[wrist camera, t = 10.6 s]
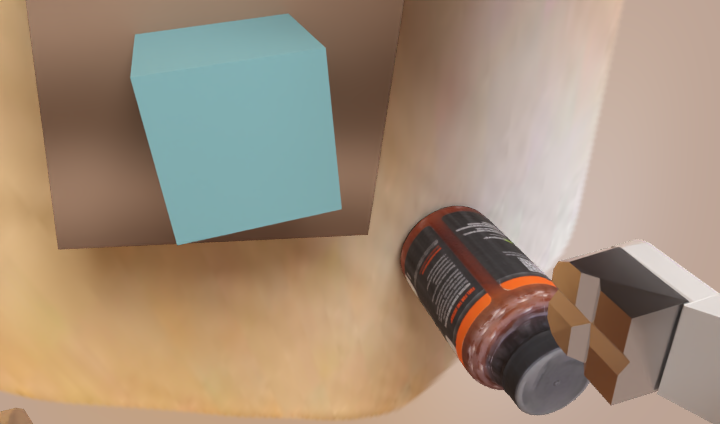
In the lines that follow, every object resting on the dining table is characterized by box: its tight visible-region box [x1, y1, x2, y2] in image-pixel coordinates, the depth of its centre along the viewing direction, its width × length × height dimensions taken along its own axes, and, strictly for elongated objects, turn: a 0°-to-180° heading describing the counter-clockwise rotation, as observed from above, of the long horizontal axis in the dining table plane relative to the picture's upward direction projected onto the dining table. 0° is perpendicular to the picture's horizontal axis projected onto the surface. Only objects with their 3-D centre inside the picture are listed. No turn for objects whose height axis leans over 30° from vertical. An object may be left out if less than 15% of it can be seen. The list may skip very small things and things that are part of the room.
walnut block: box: [26, 0, 404, 249], centre depth 23 cm, size 12×12×6 cm
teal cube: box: [130, 14, 342, 245], centre depth 18 cm, size 5×5×5 cm
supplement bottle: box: [401, 206, 590, 415], centre depth 29 cm, size 6×6×11 cm
